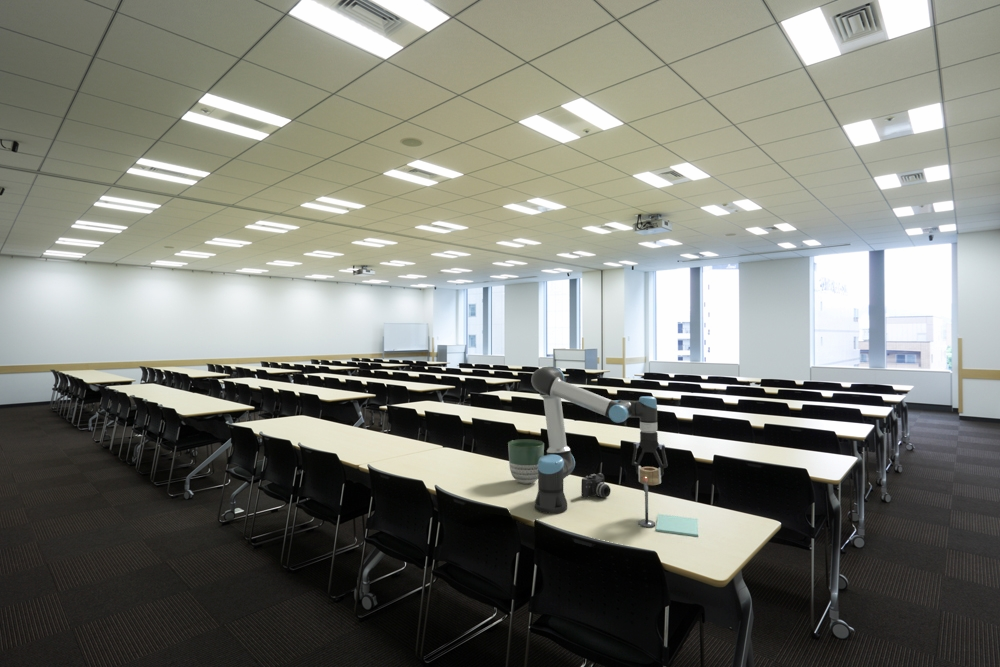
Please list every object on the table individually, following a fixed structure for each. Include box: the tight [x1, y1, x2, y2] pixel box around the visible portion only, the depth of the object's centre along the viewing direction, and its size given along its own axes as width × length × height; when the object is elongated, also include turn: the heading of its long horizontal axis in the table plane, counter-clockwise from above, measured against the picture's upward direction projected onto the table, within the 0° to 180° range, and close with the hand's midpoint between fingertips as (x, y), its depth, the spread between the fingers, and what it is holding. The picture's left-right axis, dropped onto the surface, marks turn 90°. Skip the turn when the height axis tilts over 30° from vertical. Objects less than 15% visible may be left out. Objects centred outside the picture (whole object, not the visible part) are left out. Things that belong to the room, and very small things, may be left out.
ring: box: [639, 466, 660, 486], centre depth 220 cm, size 8×8×6 cm
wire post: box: [637, 477, 656, 529], centre depth 205 cm, size 7×10×22 cm, turn 159°
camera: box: [580, 472, 612, 499], centre depth 243 cm, size 14×11×10 cm
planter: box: [507, 439, 545, 485], centre depth 267 cm, size 20×20×21 cm
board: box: [655, 513, 699, 537], centre depth 205 cm, size 16×18×1 cm
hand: (649, 481), depth 220 cm, fingers closed on ring, 8 cm apart
